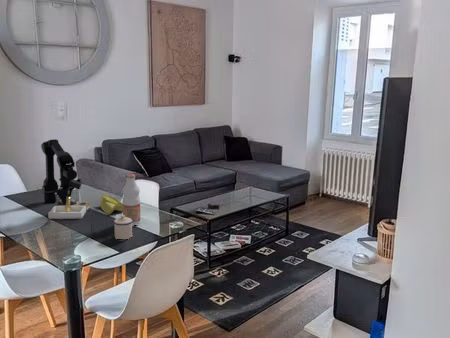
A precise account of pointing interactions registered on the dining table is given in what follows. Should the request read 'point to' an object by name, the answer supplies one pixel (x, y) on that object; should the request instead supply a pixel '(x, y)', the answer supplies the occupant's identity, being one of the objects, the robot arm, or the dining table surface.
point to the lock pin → (68, 205)
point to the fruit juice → (131, 200)
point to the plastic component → (110, 204)
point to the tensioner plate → (75, 203)
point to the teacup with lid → (123, 227)
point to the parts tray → (60, 213)
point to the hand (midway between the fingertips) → (67, 202)
